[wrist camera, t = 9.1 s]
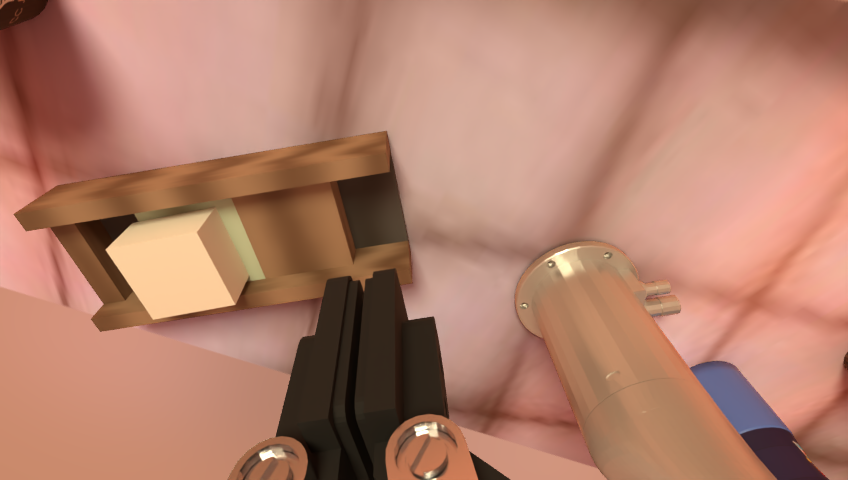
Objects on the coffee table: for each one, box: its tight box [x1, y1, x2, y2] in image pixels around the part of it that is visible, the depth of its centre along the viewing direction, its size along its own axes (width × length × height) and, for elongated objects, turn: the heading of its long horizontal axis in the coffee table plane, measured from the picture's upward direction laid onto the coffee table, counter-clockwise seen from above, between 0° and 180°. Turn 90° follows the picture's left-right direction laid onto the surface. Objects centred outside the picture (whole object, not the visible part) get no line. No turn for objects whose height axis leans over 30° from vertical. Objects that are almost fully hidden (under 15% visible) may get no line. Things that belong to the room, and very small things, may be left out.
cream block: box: [106, 207, 249, 320], centre depth 36 cm, size 7×7×4 cm
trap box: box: [14, 131, 412, 332], centre depth 38 cm, size 28×12×5 cm, turn 98°
